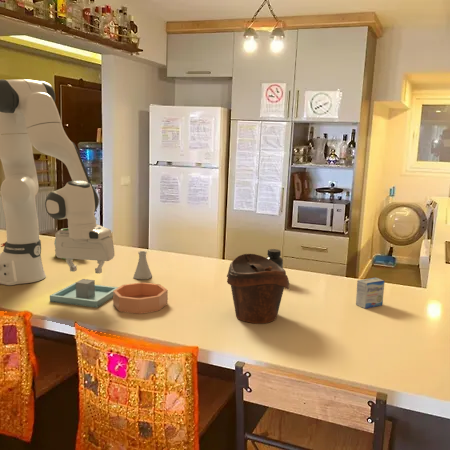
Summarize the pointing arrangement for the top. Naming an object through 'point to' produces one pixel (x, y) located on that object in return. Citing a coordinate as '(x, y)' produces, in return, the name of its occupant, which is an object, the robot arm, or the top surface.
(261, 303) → the brown lidded bucket
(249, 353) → the top surface
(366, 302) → the medicine box
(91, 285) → the grey square block
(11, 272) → the robot arm
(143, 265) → the flask
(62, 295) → the parts tray
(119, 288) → the terracotta bowl
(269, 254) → the supplement bottle
